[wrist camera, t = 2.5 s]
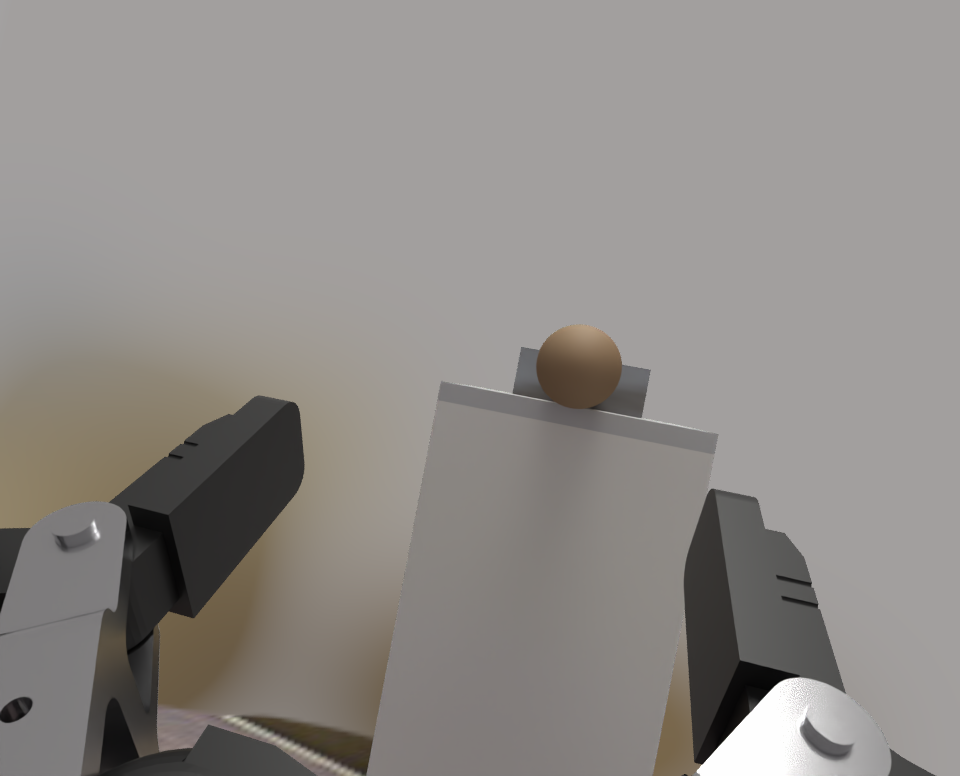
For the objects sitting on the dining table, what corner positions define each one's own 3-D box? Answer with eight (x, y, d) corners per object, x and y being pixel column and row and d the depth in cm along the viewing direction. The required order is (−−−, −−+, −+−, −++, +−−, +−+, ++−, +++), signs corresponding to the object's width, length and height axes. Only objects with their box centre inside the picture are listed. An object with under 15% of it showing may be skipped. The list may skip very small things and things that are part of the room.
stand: (328, 978, 32) (440, 381, 31) (397, 821, 43) (479, 387, 43) (594, 1079, 29) (718, 434, 29) (590, 884, 41) (678, 425, 41)
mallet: (686, 430, 21) (702, 344, 21) (462, 387, 22) (477, 306, 22) (634, 416, 41) (642, 373, 41) (520, 395, 43) (528, 353, 43)
